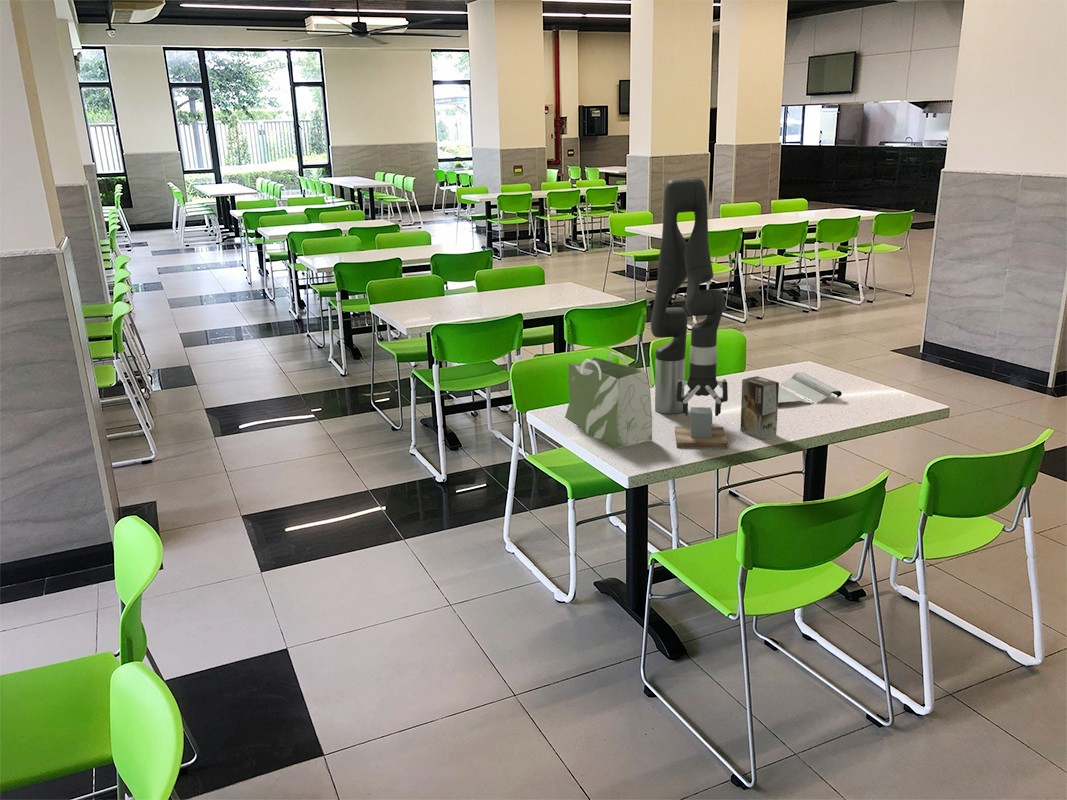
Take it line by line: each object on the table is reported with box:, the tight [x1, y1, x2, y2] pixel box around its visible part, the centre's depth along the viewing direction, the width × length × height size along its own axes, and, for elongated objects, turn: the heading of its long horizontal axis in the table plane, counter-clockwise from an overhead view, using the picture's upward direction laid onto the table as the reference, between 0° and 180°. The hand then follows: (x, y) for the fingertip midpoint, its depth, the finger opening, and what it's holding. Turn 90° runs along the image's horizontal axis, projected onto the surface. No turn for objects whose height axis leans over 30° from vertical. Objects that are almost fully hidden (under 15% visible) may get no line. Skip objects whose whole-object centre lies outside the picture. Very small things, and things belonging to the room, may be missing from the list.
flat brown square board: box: [674, 425, 729, 449], centre depth 235 cm, size 14×14×8 cm
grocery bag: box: [564, 352, 653, 449], centre depth 244 cm, size 32×14×23 cm, turn 26°
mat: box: [778, 371, 843, 405], centre depth 275 cm, size 23×24×5 cm
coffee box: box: [739, 375, 780, 440], centre depth 238 cm, size 9×6×16 cm
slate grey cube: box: [689, 406, 713, 438], centre depth 235 cm, size 6×6×7 cm
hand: (701, 415), depth 235 cm, fingers open, 8 cm apart
